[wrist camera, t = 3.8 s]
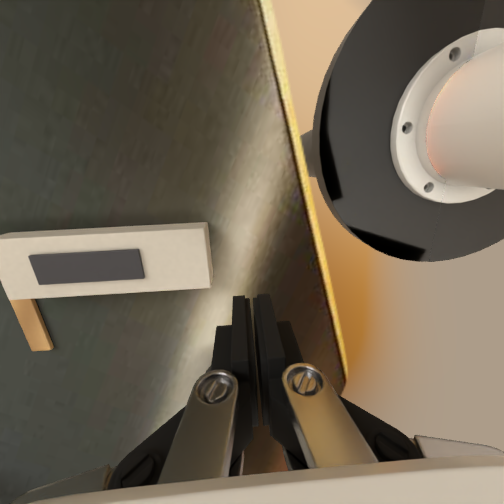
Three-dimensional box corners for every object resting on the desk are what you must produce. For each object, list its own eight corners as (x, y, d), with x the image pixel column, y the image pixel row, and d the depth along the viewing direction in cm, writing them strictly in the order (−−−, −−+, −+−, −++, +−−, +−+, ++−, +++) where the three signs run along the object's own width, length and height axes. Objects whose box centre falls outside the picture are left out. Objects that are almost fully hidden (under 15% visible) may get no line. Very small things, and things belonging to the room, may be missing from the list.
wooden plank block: (32, 292, 21) (28, 294, 21) (54, 347, 23) (51, 350, 23) (11, 293, 21) (7, 296, 21) (35, 348, 23) (32, 351, 23)
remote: (207, 221, 20) (203, 229, 17) (213, 276, 21) (210, 290, 19) (9, 232, 19) (-23, 241, 17) (31, 287, 21) (5, 302, 19)
